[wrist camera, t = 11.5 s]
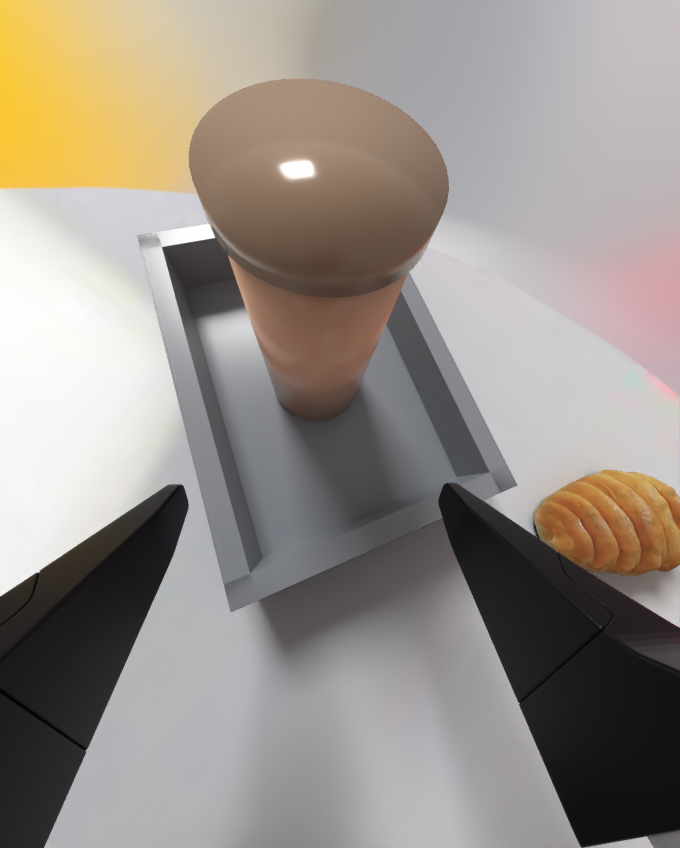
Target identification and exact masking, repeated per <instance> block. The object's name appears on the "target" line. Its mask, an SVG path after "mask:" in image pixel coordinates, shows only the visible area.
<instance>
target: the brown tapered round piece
mask: <svg viewBox="0 0 680 848" xmlns="http://www.w3.org/2000/svg"><path fill="white" fill-rule="evenodd" d="M189 167H190V171H191V175H192V179H193V182H194V185H195V188H196V190H197V193H198V196H199V199H200V201H201V204H202V207H203V209H204V212H205V215H206V217H207V220H208V223H209V225H210V227H211V230H212V232H213V234H214V236H215V238H216V239H217V241H218V242H219V244H220V246H221V247H222V248H223V249H224V251H225V252H226V253H227V254H228V257H229V260H230V263H231V266H232V269H233V272H234V275H235V277H236V280H237V283H238V286H239V289H240V292H241V295H242V298H243V301H244V304H245V307H246V310H247V312H248V315H249V318H250V321H251V324H252V327H253V330H254V333H255V336H256V339H257V342H258V345H259V348H260V350H261V353H262V356H263V359H264V362H265V365H266V368H267V371H268V374H269V377H270V380H271V383H272V385H273V388H274V391H275V394H276V396H277V399H278V400H279V402H280V403H281V405H282V406H283V407H284V408H285V409H286V410H287V411H288V412H290V413H291V414H293V415H295V416H297V417H299V418H301V419H305V420H310V421H323V420H328V419H331V418H334V417H336V416H338V415H339V414H341V413H342V412H344V411H345V410H346V409H347V408H348V407H349V406H350V404H351V403H352V401H353V399H354V398H355V395H356V393H357V391H358V388H359V386H360V384H361V381H362V379H363V377H364V374H365V372H366V370H367V367H368V365H369V363H370V360H371V358H372V356H373V354H374V351H375V349H376V347H377V344H378V342H379V340H380V337H381V335H382V333H383V330H384V328H385V326H386V323H387V321H388V319H389V316H390V314H391V312H392V309H393V307H394V305H395V303H396V300H397V298H398V296H399V293H400V291H401V289H402V286H403V284H404V282H405V279H406V277H407V275H408V272H409V271H410V270H411V269H413V268H414V266H415V265H416V264H417V263H418V261H419V260H420V259H421V257H422V256H423V254H424V252H425V250H426V249H427V246H428V244H429V242H430V240H431V237H432V236H433V233H434V231H435V229H436V227H437V225H438V223H439V220H440V218H441V216H442V214H443V212H444V208H445V206H446V203H447V198H448V191H449V185H448V184H449V183H448V175H447V169H446V166H445V163H444V160H443V158H442V155H441V153H440V151H439V150H438V148H437V146H436V144H435V143H434V141H433V140H432V139H431V137H430V136H429V135H428V133H427V132H426V131H425V130H424V129H423V128H422V127H421V126H420V125H419V124H418V123H417V122H416V121H415V120H414V119H412V118H411V117H410V116H409V115H407V114H406V113H405V112H403V111H402V110H401V109H399V108H398V107H396V106H394V105H393V104H391V103H389V102H388V101H386V100H384V99H382V98H380V97H378V96H376V95H374V94H371V93H369V92H366V91H363V90H361V89H358V88H355V87H351V86H348V85H345V84H340V83H335V82H330V81H323V80H315V79H282V80H275V81H268V82H264V83H259V84H256V85H252V86H249V87H246V88H243V89H241V90H239V91H237V92H235V93H233V94H230V95H229V96H227V97H226V98H224V99H223V100H221V101H219V102H218V103H217V104H216V105H215V106H214V107H212V108H211V109H210V110H209V111H208V112H207V113H206V115H205V116H204V117H203V118H202V119H201V121H200V122H199V124H198V126H197V127H196V129H195V131H194V134H193V137H192V140H191V144H190V150H189Z"/></svg>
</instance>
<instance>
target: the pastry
mask: <svg viewBox="0 0 680 848" xmlns="http://www.w3.org/2000/svg"><path fill="white" fill-rule="evenodd" d="M534 523H535V525H536V528H537V532H538V535H539V538H540V540H541V541H543V542H544V543H546V544H547V545H549V546H550V547H552V548H553V549H555V550H556V552H559V553H561V554H562V555H564V556H565V557H567V558H568V559H569V560H571V561H572V562H574V563H575V564H577V565H578V566H580V567H582V568H586V569H589V570H592V571H595V572H612V573H618V574H620V575H625V576H630V575H640V574H643V573H646V572H649V571H653V570H658V571H663V572H666V571H670V570H672V569H673V568H675V567H677V566H678V565H680V497H679V496H678V495H677V493H676V492H675V490H674V489H673V488H671V487H669V486H667V485H666V484H664V483H663V482H661V481H659V480H657V479H655V478H653V477H650V476H646V475H644V474H640V473H636V472H627V473H625V472H622V471H617V470H603V471H601V472H598V473H595V474H592V475H589V476H586V477H584V478H581V479H579V480H577V481H575V482H572V483H570V484H568V485H567V486H565V487H563V488H562V489H560V490H558V491H557V492H555V493H553V494H552V495H550V496H548V497H547V498H545V499H544V500H542V502H541V504H540V505H539V507H538V508H537V509H536V510H535V512H534Z"/></svg>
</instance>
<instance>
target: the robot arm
mask: <svg viewBox="0 0 680 848" xmlns="http://www.w3.org/2000/svg"><path fill="white" fill-rule="evenodd" d="M438 504H439V508H440V511H441V515H442V518H443V521H444V524H445V528H446V531H447V534H448V537H449V540H450V543H451V546H452V548H453V551H454V553H455V556H456V558H457V560H458V563H459V565H460V567H461V570H462V572H463V574H464V577H465V579H466V581H467V584H468V586H469V588H470V591H471V593H472V595H473V598H474V600H475V602H476V605H477V607H478V609H479V612H480V614H481V616H482V619H483V621H484V623H485V626H486V628H487V630H488V633H489V635H490V637H491V640H492V642H493V644H494V647H495V649H496V651H497V654H498V656H499V658H500V661H501V663H502V665H503V668H504V670H505V672H506V675H507V677H508V679H509V682H510V684H511V686H512V689H513V691H514V693H515V696H516V698H517V700H518V702H519V703H520V704H519V706H520V708H521V710H522V713H523V715H524V717H525V720H526V722H527V724H528V727H529V729H530V731H531V734H532V736H533V738H534V741H535V743H536V745H537V748H538V750H539V752H540V755H541V757H542V759H543V762H544V764H545V766H546V769H547V771H548V773H549V776H550V778H551V780H552V783H553V785H554V787H555V790H556V792H557V794H558V797H559V799H560V801H561V804H562V806H563V808H564V811H565V813H566V815H567V818H568V820H569V822H570V825H571V827H572V829H573V832H574V834H575V836H576V838H577V840H578V842H579V844H580V846H581V847H582V848H584V847H590V846H595V845H601V844H607V843H612V842H618V841H623V840H629V839H634V838H640V837H645V836H647V837H648V839H649V840H650V842H651V844H652V845H653V847H654V848H680V628H679V627H677V626H675V625H674V624H672V623H670V622H669V621H667V620H665V619H664V618H662V617H661V616H659V615H657V614H656V613H654V612H652V611H651V610H649V609H647V608H646V607H644V606H643V605H641V604H639V603H638V602H636V601H634V600H633V599H631V598H629V597H628V596H626V595H624V594H623V593H621V592H620V591H618V590H616V589H615V588H613V587H611V586H610V585H608V584H607V583H605V582H603V581H602V580H600V579H599V578H597V577H595V576H594V575H592V574H591V573H589V572H588V571H586V570H585V569H583V568H582V567H580V566H578V565H577V564H575V563H574V562H572V561H571V560H569V559H568V558H567V557H565V556H564V555H562V554H561V553H559V552H556V550H555V549H553V548H552V547H550V546H549V545H547V544H546V543H544V542H543V541H541V540H540V539H538V538H537V537H535V536H534V535H533V534H531V533H530V532H528V531H527V530H525V529H524V528H522V527H521V526H519V525H518V524H516V523H515V522H513V521H512V520H510V519H509V518H507V517H506V516H504V515H503V514H502V513H500V512H499V511H497V510H496V509H494V508H493V507H491V506H490V505H488V504H487V503H485V502H484V501H482V500H481V499H479V498H478V497H476V496H475V495H474V494H472V493H471V492H469V491H468V490H466V489H465V488H463V487H462V486H460V485H459V484H457V483H445V484H444V485H443V487H442V490H441V493H440V496H439V499H438ZM188 506H189V504H188V499H187V496H186V492H185V489H184V486H183V485H181V484H171V485H167V486H166V487H164V488H163V489H161V490H160V491H158V492H157V493H155V494H154V495H152V496H151V497H149V498H148V499H146V500H145V501H143V502H142V503H140V504H139V505H137V506H136V507H134V508H133V509H131V510H130V511H128V512H127V513H125V514H124V515H122V516H121V517H119V518H118V519H116V520H115V521H113V522H112V523H110V524H109V525H107V526H106V527H104V528H103V529H101V530H100V531H98V532H97V533H95V534H94V535H92V536H91V537H89V538H88V539H86V540H85V541H83V542H82V543H80V544H79V545H77V546H76V547H74V548H73V549H71V550H70V551H68V552H67V553H65V554H64V555H62V556H61V557H59V558H58V559H56V560H55V561H53V562H52V563H50V564H49V565H47V566H46V567H44V568H43V569H41V570H40V572H39V573H35V574H34V575H32V576H31V577H29V578H28V579H26V580H25V581H23V582H22V583H20V584H19V585H17V586H16V587H14V588H13V589H11V590H9V591H8V592H6V593H5V594H3V595H2V596H0V848H44V846H45V844H46V842H47V840H48V837H49V835H50V833H51V831H52V828H53V826H54V824H55V822H56V819H57V817H58V815H59V813H60V810H61V808H62V806H63V804H64V801H65V799H66V797H67V795H68V792H69V790H70V788H71V785H72V783H73V781H74V779H75V776H76V774H77V772H78V770H79V767H80V765H81V763H82V761H83V758H84V756H85V754H86V751H85V750H87V748H88V747H89V744H90V742H91V740H92V738H93V735H94V733H95V731H96V729H97V726H98V724H99V722H100V719H101V717H102V715H103V713H104V710H105V708H106V706H107V704H108V701H109V699H110V697H111V695H112V692H113V690H114V688H115V686H116V683H117V681H118V679H119V677H120V674H121V672H122V670H123V668H124V665H125V663H126V661H127V659H128V656H129V654H130V652H131V650H132V647H133V645H134V643H135V641H136V638H137V636H138V634H139V632H140V629H141V627H142V625H143V623H144V620H145V618H146V616H147V613H148V611H149V609H150V607H151V604H152V602H153V600H154V598H155V595H156V593H157V591H158V589H159V586H160V584H161V582H162V580H163V577H164V575H165V573H166V571H167V568H168V566H169V564H170V562H171V559H172V557H173V554H174V551H175V549H176V546H177V542H178V539H179V536H180V533H181V530H182V527H183V524H184V520H185V517H186V514H187V511H188Z"/></svg>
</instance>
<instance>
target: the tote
mask: <svg viewBox="0 0 680 848" xmlns="http://www.w3.org/2000/svg"><path fill="white" fill-rule="evenodd" d="M137 237H138V241H139V245H140V249H141V253H142V257H143V261H144V265H145V269H146V273H147V277H148V281H149V285H150V289H151V293H152V297H153V301H154V305H155V309H156V313H157V317H158V321H159V325H160V329H161V333H162V337H163V341H164V345H165V349H166V353H167V357H168V362H169V366H170V370H171V374H172V378H173V382H174V386H175V390H176V394H177V398H178V402H179V406H180V410H181V414H182V418H183V422H184V426H185V430H186V434H187V438H188V442H189V446H190V450H191V454H192V458H193V462H194V466H195V470H196V474H197V478H198V482H199V486H200V490H201V494H202V498H203V502H204V506H205V510H206V515H207V519H208V523H209V527H210V531H211V535H212V539H213V543H214V547H215V551H216V555H217V559H218V563H219V567H220V571H221V575H222V579H223V583H224V587H225V591H226V595H227V599H228V603H229V607H230V611H231V612H233V611H235V610H237V609H240V608H242V607H244V606H246V605H249V604H251V603H253V602H255V601H258V600H260V599H262V598H264V597H267V596H269V595H271V594H273V593H276V592H278V591H280V590H283V589H285V588H287V587H289V586H292V585H294V584H296V583H298V582H301V581H303V580H305V579H307V578H310V577H312V576H314V575H316V574H319V573H321V572H323V571H325V570H328V569H330V568H332V567H334V566H337V565H339V564H341V563H343V562H346V561H348V560H350V559H352V558H355V557H357V556H359V555H361V554H364V553H366V552H368V551H370V550H373V549H375V548H377V547H379V546H382V545H384V544H386V543H388V542H391V541H393V540H395V539H397V538H400V537H402V536H404V535H406V534H409V533H411V532H413V531H415V530H418V529H420V528H422V527H424V526H427V525H429V524H431V523H433V522H436V521H438V520H440V519H442V515H441V511H440V508H439V504H438V499H439V496H440V493H441V490H442V487H443V485H444V484H445V483H457V484H459V485H460V486H462V487H463V488H465V489H466V490H468V491H469V492H471V493H472V494H474V495H475V496H476V497H478V498H479V499H481V500H482V501H483V500H485V499H487V498H490V497H492V496H494V495H496V494H499V493H501V492H503V491H505V490H508V489H510V488H512V487H515V486H517V484H516V482H515V480H514V478H513V476H512V474H511V472H510V470H509V468H508V466H507V464H506V462H505V460H504V458H503V456H502V454H501V452H500V450H499V448H498V446H497V444H496V442H495V440H494V438H493V436H492V434H491V432H490V430H489V428H488V426H487V424H486V423H485V421H484V419H483V417H482V415H481V413H480V411H479V409H478V407H477V405H476V403H475V401H474V399H473V397H472V395H471V393H470V391H469V389H468V387H467V385H466V383H465V381H464V379H463V377H462V375H461V373H460V371H459V369H458V367H457V365H456V363H455V361H454V359H453V357H452V355H451V354H450V352H449V350H448V348H447V346H446V344H445V342H444V340H443V338H442V336H441V334H440V332H439V330H438V328H437V326H436V324H435V322H434V320H433V318H432V316H431V314H430V312H429V310H428V308H427V306H426V304H425V302H424V300H423V298H422V296H421V294H420V292H419V290H418V288H417V286H416V285H415V283H414V281H413V279H412V277H411V275H410V273H409V272H408V275H407V277H406V279H405V282H404V284H403V286H402V289H401V291H400V293H399V296H398V298H397V300H396V303H395V305H394V307H393V309H392V312H391V314H390V316H389V319H388V321H387V323H386V326H385V328H384V330H383V333H382V335H381V337H380V340H379V342H378V344H377V347H376V349H375V351H374V354H373V356H372V358H371V360H370V363H369V365H368V367H367V370H366V372H365V374H364V377H363V379H362V381H361V384H360V386H359V388H358V391H357V393H356V395H355V398H354V399H353V401H352V403H351V404H350V406H349V407H348V408H347V409H346V410H345V411H344V412H342V413H341V414H339V415H338V416H336V417H334V418H331V419H328V420H323V421H310V420H305V419H301V418H299V417H297V416H295V415H293V414H291V413H290V412H288V411H287V410H286V409H285V408H284V407H283V406H282V405H281V403H280V402H279V400H278V399H277V396H276V394H275V391H274V388H273V385H272V383H271V380H270V377H269V374H268V371H267V368H266V365H265V362H264V359H263V356H262V353H261V350H260V348H259V345H258V342H257V339H256V336H255V333H254V330H253V327H252V324H251V321H250V318H249V315H248V312H247V310H246V307H245V304H244V301H243V298H242V295H241V292H240V289H239V286H238V283H237V280H236V277H235V275H234V272H233V269H232V266H231V263H230V260H229V257H228V254H227V253H226V252H225V251H224V249H223V248H222V247H221V246H220V244H219V242H218V241H217V239H216V238H215V236H214V234H213V232H212V230H211V227H210V225H209V224H205V225H199V226H193V227H187V228H180V229H174V230H168V231H162V232H155V233H149V234H143V235H137Z"/></svg>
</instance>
